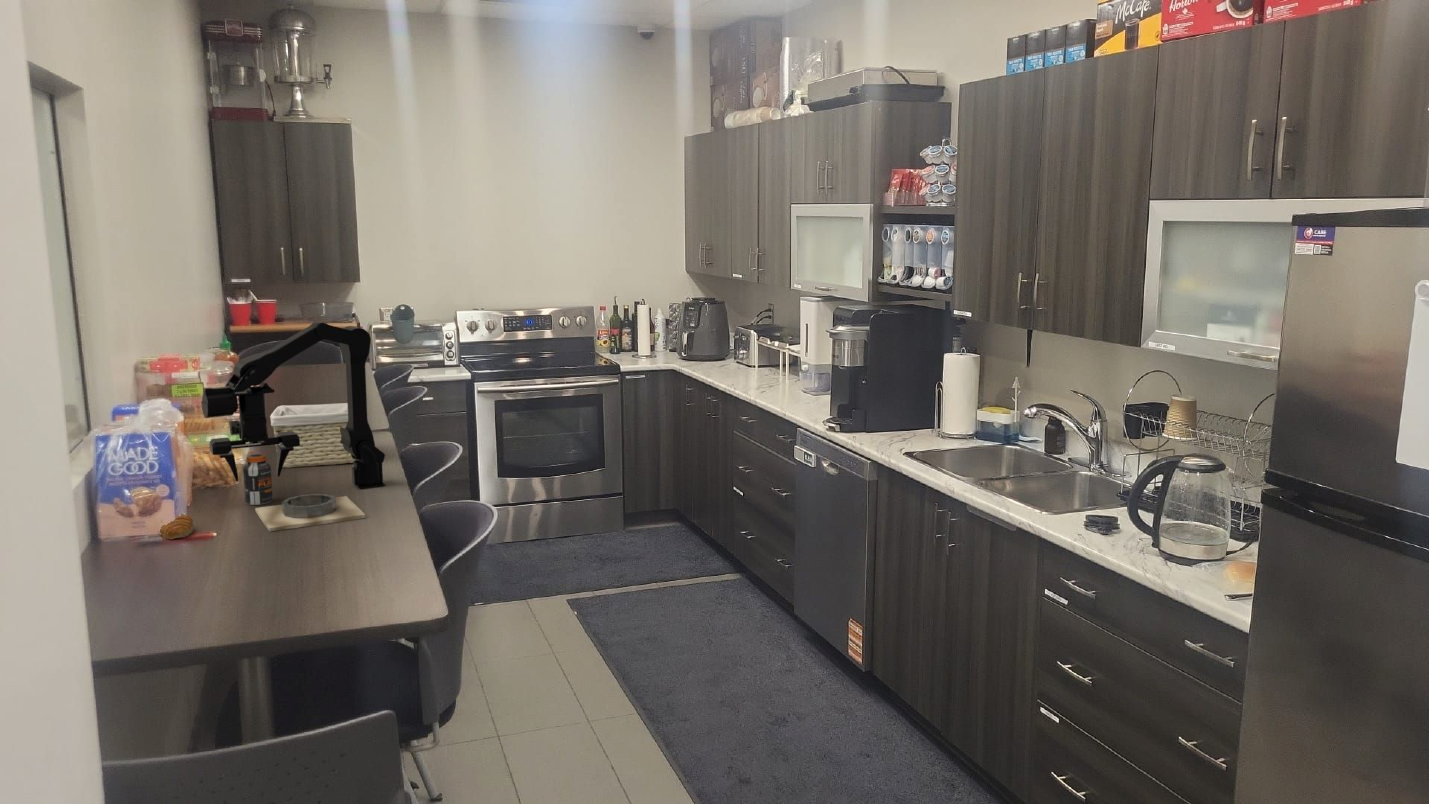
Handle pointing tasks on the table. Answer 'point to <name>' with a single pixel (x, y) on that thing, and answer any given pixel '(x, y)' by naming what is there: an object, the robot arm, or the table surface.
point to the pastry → (178, 527)
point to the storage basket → (313, 433)
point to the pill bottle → (257, 480)
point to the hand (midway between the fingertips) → (257, 478)
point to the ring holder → (308, 512)
